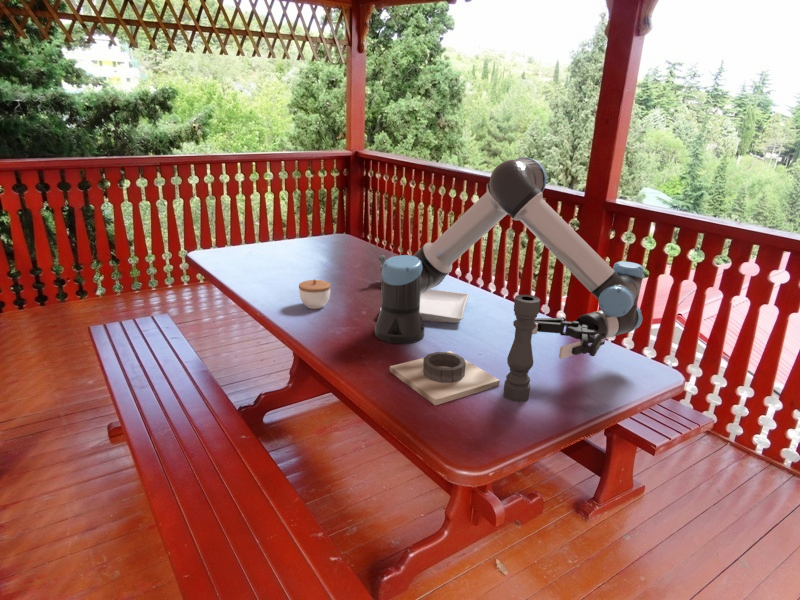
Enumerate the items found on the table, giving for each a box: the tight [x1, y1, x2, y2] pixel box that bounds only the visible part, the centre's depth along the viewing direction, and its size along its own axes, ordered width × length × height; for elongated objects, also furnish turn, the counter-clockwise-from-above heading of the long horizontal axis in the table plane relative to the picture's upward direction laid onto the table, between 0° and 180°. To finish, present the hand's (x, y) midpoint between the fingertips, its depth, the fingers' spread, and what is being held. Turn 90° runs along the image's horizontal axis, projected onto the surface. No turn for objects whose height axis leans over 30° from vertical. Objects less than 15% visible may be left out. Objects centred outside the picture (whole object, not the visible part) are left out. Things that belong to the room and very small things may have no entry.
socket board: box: [389, 350, 500, 407], centre depth 139 cm, size 20×20×5 cm
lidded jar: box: [298, 279, 332, 310], centre depth 186 cm, size 11×11×9 cm
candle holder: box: [502, 294, 541, 403], centre depth 128 cm, size 6×6×25 cm
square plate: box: [379, 288, 470, 323], centre depth 187 cm, size 27×27×4 cm
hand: (538, 342), depth 130 cm, fingers open, 13 cm apart
